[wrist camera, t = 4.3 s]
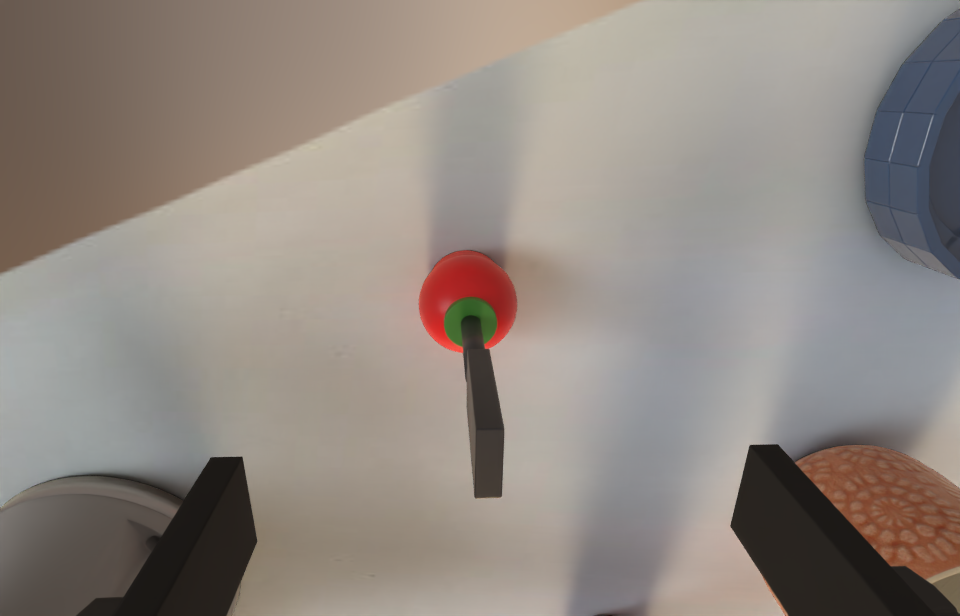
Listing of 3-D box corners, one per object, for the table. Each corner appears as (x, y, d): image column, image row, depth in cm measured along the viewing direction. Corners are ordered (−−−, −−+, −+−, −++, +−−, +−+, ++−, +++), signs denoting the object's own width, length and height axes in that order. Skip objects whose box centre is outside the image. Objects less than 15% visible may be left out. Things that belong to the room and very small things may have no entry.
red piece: (421, 328, 30) (406, 534, 16) (419, 242, 28) (400, 392, 14) (508, 326, 30) (567, 528, 17) (512, 242, 29) (580, 388, 15)
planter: (790, 395, 33) (943, 529, 23) (948, 446, 36) (1149, 589, 26) (693, 545, 38) (786, 715, 27) (840, 583, 40) (977, 752, 30)
